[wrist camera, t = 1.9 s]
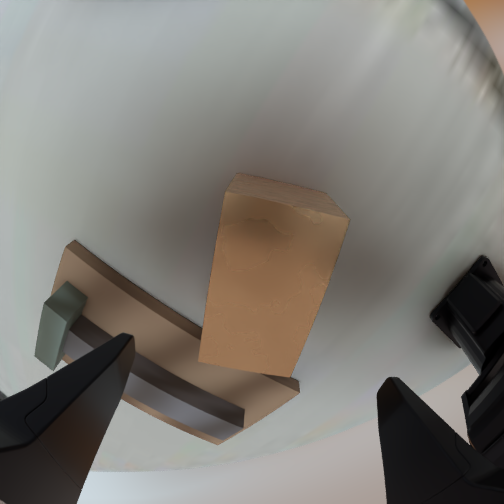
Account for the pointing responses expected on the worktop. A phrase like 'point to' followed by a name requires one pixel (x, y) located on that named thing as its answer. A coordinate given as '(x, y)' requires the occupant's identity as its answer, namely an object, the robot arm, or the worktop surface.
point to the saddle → (268, 274)
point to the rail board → (152, 352)
